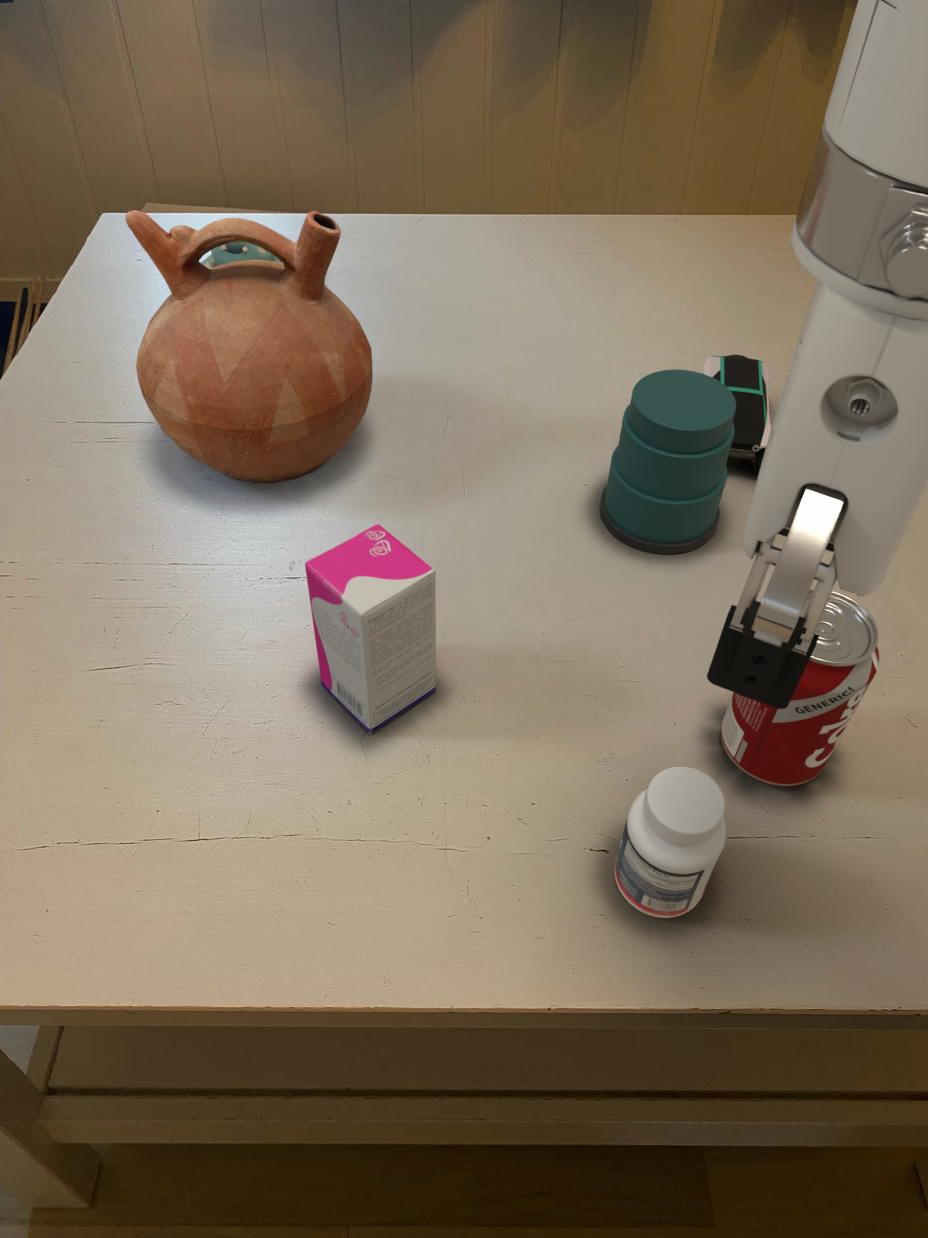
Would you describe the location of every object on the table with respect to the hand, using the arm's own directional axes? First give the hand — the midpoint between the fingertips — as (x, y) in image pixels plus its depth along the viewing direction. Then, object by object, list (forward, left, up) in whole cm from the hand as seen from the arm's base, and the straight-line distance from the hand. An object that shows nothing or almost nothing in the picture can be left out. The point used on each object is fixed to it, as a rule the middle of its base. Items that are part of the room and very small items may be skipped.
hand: (778, 609), depth 40 cm
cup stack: (+9, -29, -22) cm, 37 cm away
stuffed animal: (+57, -44, -22) cm, 75 cm away
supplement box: (+22, -4, -22) cm, 31 cm away
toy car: (+6, -41, -22) cm, 47 cm away
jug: (+42, -24, -22) cm, 53 cm away
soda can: (-4, -10, -22) cm, 24 cm away
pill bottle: (+1, +2, -22) cm, 22 cm away
